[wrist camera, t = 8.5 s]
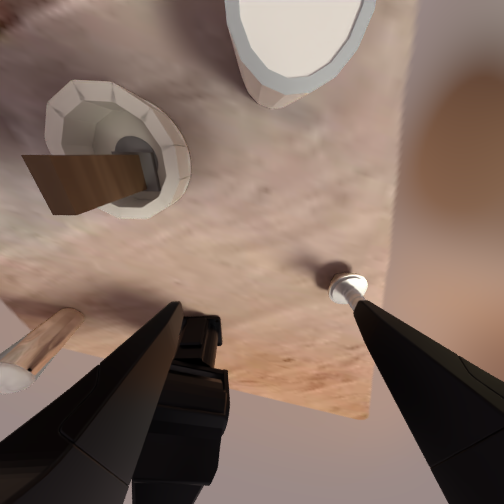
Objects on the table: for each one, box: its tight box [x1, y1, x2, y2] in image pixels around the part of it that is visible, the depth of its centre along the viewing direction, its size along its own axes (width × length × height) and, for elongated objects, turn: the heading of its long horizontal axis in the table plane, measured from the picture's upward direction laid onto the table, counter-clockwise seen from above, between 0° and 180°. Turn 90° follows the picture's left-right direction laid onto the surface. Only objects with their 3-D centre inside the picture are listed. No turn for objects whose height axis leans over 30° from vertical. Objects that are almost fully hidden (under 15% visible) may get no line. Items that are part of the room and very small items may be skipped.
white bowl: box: [44, 80, 191, 219], centre depth 15 cm, size 9×9×4 cm
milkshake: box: [0, 308, 84, 394], centre depth 21 cm, size 5×5×10 cm
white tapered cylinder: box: [225, 0, 376, 109], centre depth 11 cm, size 7×7×7 cm
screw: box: [328, 272, 368, 311], centre depth 19 cm, size 13×5×5 cm
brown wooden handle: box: [21, 151, 161, 215], centre depth 13 cm, size 3×3×9 cm
